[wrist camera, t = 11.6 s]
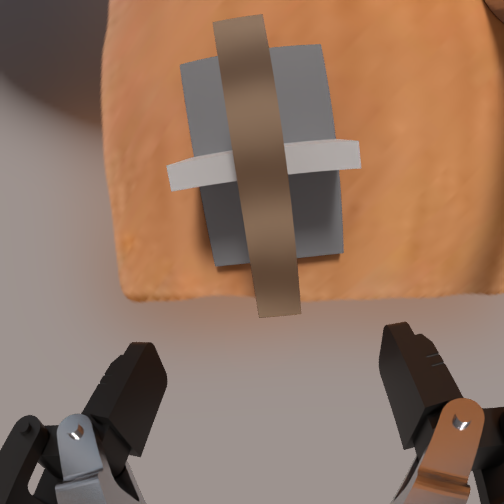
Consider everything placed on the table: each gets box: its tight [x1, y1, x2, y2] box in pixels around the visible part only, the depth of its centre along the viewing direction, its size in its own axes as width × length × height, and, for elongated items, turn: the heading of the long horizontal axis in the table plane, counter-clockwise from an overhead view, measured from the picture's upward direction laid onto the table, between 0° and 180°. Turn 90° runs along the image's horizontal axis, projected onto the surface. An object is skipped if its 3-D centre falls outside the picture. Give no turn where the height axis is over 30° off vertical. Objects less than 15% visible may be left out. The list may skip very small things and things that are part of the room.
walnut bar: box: [213, 14, 301, 318], centre depth 18 cm, size 20×3×4 cm, turn 8°
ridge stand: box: [167, 44, 361, 266], centre depth 24 cm, size 22×14×10 cm, turn 8°
